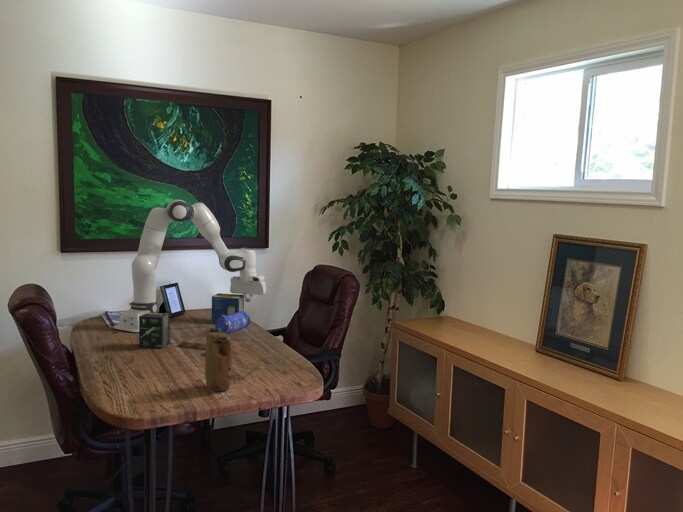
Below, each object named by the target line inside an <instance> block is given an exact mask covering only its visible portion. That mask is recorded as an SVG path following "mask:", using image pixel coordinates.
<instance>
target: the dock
mask: <svg viewBox="0 0 683 512" xmlns="http://www.w3.org/2000/svg"><path fill="white" fill-rule="evenodd" d="M212 332H214V327H210V328H208V329H206V330H203V331H202V332H201V331H200V332H199V333H196V334H194V335H192V336H190V337H187V338H185V339H184V340H181V341H180V347H182V348H190V349H191V348H192V349H199V350H206V342H205V343H204V342H197V341H199V340H202V339H203V338H205V337H207V334H208V333H212ZM241 333H242V331H241V330H236V331H234V332H232V333H231V334H229V337H230V340H231V341H234V340H235V339H236V338H238V337H240V336H241V335H242V334H241Z"/></svg>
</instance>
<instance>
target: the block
mask: <svg viewBox="0 0 683 512" xmlns="http://www.w3.org/2000/svg"><path fill="white" fill-rule="evenodd" d="M229 335H230V334H229ZM229 335H228V333H227V334H226V333H223V332H219V333H218V332H214V331H213V332H212V333H208V334H207V336H206V342H205V343H206V349H205V364H204V366H205V367H204V368H205V369H204V370H205V371H204V373H205V374H204V375H205V384H206V386H207V387H208V388H209V389H210V390H213V391H218V392H221V391H222V392H223V391H226V390H229V388H230V386H231V377H232V376H231V369H232V364H233V363H232V361H233V346H232V340H230V337H229Z"/></svg>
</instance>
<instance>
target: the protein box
mask: <svg viewBox="0 0 683 512" xmlns="http://www.w3.org/2000/svg"><path fill="white" fill-rule="evenodd" d="M239 311H243V312H245V298H244V297H243V294H239V293H219V292H218V293H216V294H214V295H212V296H211V317H210V319H211V320H210V321H211V323H210V324H212V325H215V323H216V321H217V320H218V319H219V318H220V317H222V316H223V315H224V316H229V315H233V314H235V313H237V312H239Z"/></svg>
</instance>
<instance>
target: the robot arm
mask: <svg viewBox="0 0 683 512" xmlns="http://www.w3.org/2000/svg"><path fill="white" fill-rule="evenodd" d="M214 215H215V214H213V213H212V211H211V210H210V208H209V207H207V205H206V204H205V203H203V202H196V203H193V204H188V203H187V202H186V201H185V200H183V199H178V198H177V199H173V200H171V201H170V202H169V203H168V204H166V206H165V207H159V206H158V207H153V208H152V209H150V212H149V214H148V216H147V218H146V220H145V224H144V226H143V230H142V234H141V237H140V241H139V246H138V249H137V254H136V257H134V258H133V260H132V261H131V276H132V284H133V287H132V289H133V301H132V302H130V303H129V302H128V305H129V306H130V308H129V309H128V310H126V311H125V312H124V313H123V314H121V315H120V316H119V320H118V323H117V324H116V325H114V327H113V329H115V330H120V331H126V332H130V333H131V332H132V333H139V316H141V315H144V314H146V313H158V312H157V310H158V301H157V283H156V272H155V271H156V269H157V267H158V264H159V260H160V256H161V252H162V248H163V244H164V241H165V238H166V233H167V232H168V231H167V230H168V228H169V225H170V223H172V221H175V222H177V223H182V222H186V221H191V222H192V224H193V225H194V226H195V228H196V229H197V231H198V233H199V234H201V236H202V237H203V238H204V239H205V240H206V241H208V243H210V245H211V246H212V248H213V250H214V251H215V253H216V255H217V257H218V264H219V266H220V267H221V268H222V269H223V270H225V271H227V272H230V273H235V272H236V273H237V272H239V276H233V277H231V278H230V287H229V291H230V294H238V295H243V297H244V303H251V302H252V298H253V297H254V295H256V296H257V295H258V296H263V295H265V294H266V293H267V284H266V281H265V279H266V278H265V276H264V275H261V274H259V273H257V269H256V266H257V255H256V251H255V250H254V248H250V247H241V248H240V249H239V250H237V251H235V252H231V250H229V249H228V248H227V246H226V244H225V242H224V241H223V240H222V238H221V227H220V224H219V222H218V220H217V219H216V217H215V216H214ZM248 295H249V298H248V297H247V296H248Z"/></svg>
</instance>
